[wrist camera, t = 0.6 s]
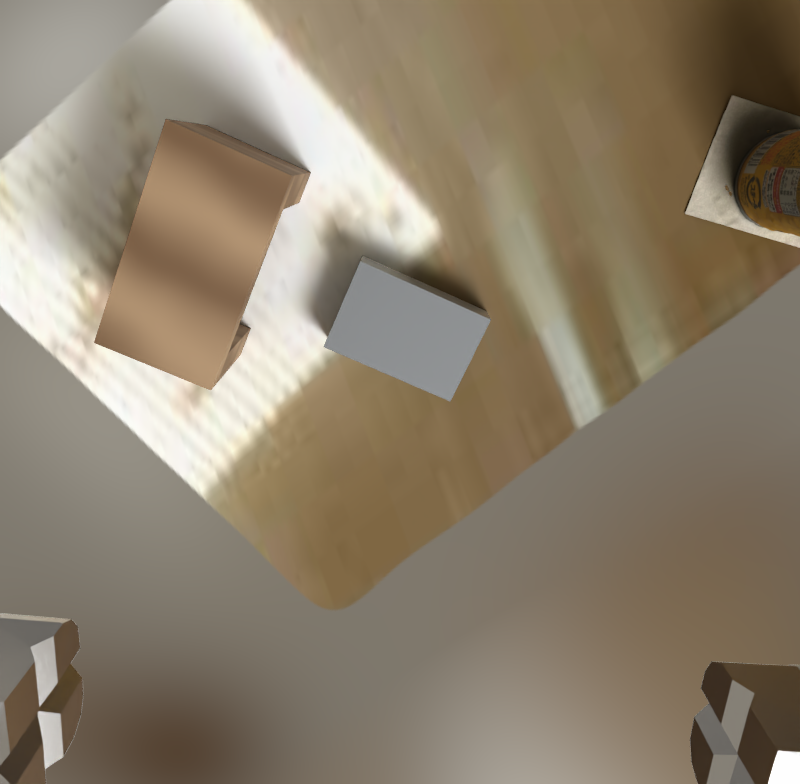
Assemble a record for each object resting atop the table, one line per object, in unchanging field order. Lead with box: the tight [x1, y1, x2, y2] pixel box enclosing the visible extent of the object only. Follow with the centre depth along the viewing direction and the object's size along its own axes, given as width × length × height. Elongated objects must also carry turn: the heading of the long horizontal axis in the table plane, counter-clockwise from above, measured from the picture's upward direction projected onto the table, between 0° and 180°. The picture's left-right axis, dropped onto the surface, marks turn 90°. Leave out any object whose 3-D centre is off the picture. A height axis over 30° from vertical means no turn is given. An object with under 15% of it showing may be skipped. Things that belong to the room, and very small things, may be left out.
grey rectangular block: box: [324, 256, 491, 401], centre depth 48 cm, size 6×9×3 cm, turn 66°
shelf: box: [94, 119, 311, 390], centre depth 44 cm, size 13×7×8 cm, turn 156°
